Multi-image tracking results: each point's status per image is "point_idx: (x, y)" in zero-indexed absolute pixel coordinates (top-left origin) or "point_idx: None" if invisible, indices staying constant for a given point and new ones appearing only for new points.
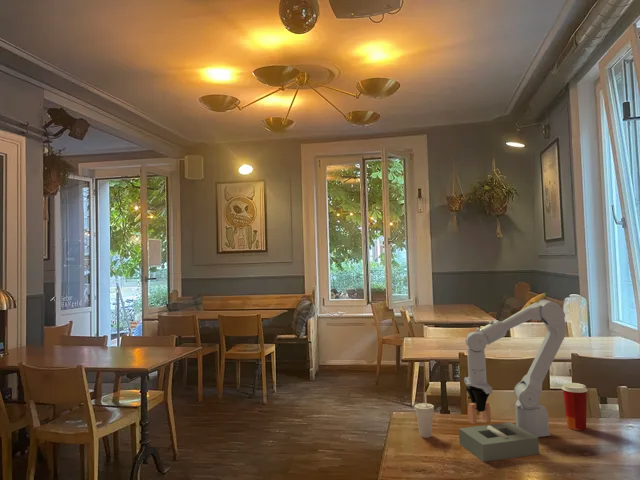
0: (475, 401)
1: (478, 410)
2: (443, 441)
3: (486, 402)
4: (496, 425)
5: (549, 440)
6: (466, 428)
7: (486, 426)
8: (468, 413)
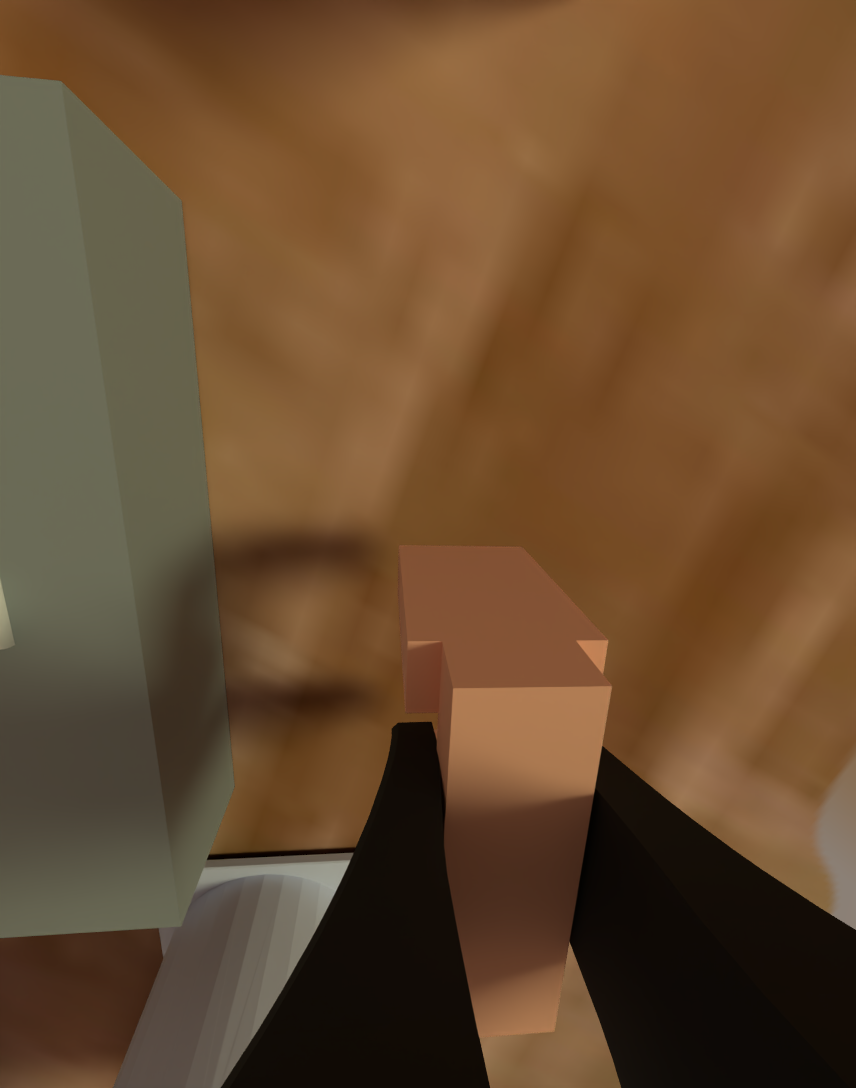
0: (601, 870)
1: (396, 735)
2: (322, 33)
3: (492, 1017)
4: (98, 743)
5: (101, 987)
6: (38, 236)
7: (80, 604)
8: (549, 585)
